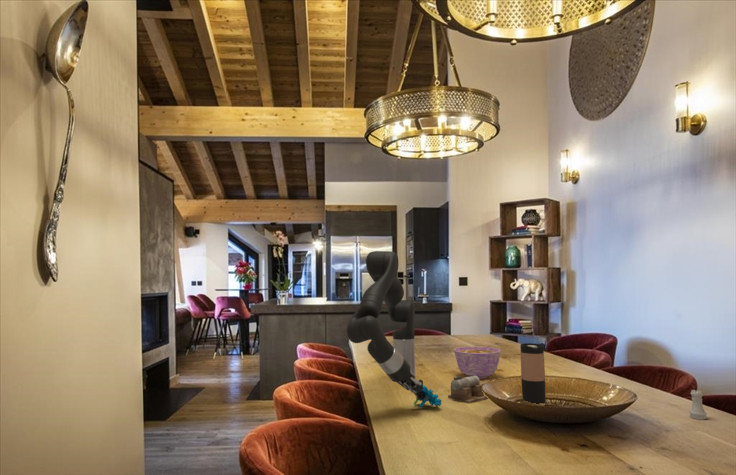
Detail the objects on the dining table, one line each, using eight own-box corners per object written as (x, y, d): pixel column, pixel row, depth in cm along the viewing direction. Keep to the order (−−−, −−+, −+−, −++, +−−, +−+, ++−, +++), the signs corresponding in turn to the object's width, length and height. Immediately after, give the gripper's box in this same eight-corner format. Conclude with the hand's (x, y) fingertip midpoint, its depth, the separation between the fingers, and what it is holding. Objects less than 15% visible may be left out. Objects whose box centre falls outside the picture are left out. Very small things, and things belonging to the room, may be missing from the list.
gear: (448, 404, 155) (428, 383, 153) (438, 419, 152) (418, 397, 150) (429, 402, 164) (410, 381, 163) (419, 415, 161) (400, 395, 160)
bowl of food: (465, 370, 219) (465, 345, 220) (508, 375, 207) (507, 348, 208) (446, 378, 203) (445, 351, 204) (491, 384, 191) (490, 354, 192)
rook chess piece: (704, 416, 144) (702, 389, 145) (709, 420, 140) (707, 393, 141) (687, 415, 146) (685, 388, 146) (691, 419, 142) (690, 392, 142)
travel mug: (528, 400, 165) (526, 342, 166) (550, 404, 159) (547, 344, 161) (518, 405, 159) (515, 345, 161) (539, 409, 154) (537, 347, 156)
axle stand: (466, 404, 161) (465, 379, 162) (445, 398, 169) (444, 375, 170) (488, 398, 168) (487, 375, 169) (467, 393, 176) (466, 371, 177)
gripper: (413, 357, 147) (442, 391, 153) (387, 352, 158) (415, 384, 164) (400, 376, 144) (430, 411, 150) (374, 370, 155) (403, 402, 161)
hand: (422, 397), depth 157 cm, fingers closed
